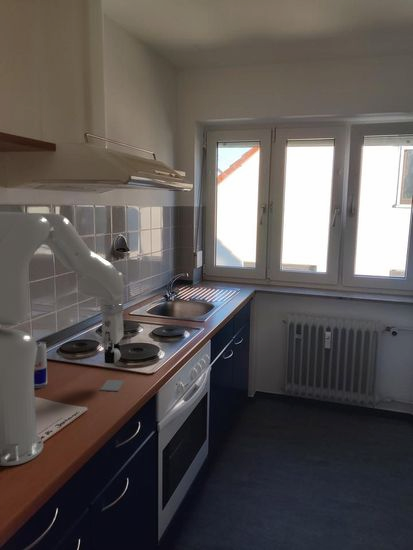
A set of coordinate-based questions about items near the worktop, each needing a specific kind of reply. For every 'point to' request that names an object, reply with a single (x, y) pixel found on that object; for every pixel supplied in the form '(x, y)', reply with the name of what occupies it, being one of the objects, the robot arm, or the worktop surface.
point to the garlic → (116, 354)
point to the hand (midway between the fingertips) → (112, 359)
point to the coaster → (112, 385)
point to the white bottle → (40, 366)
